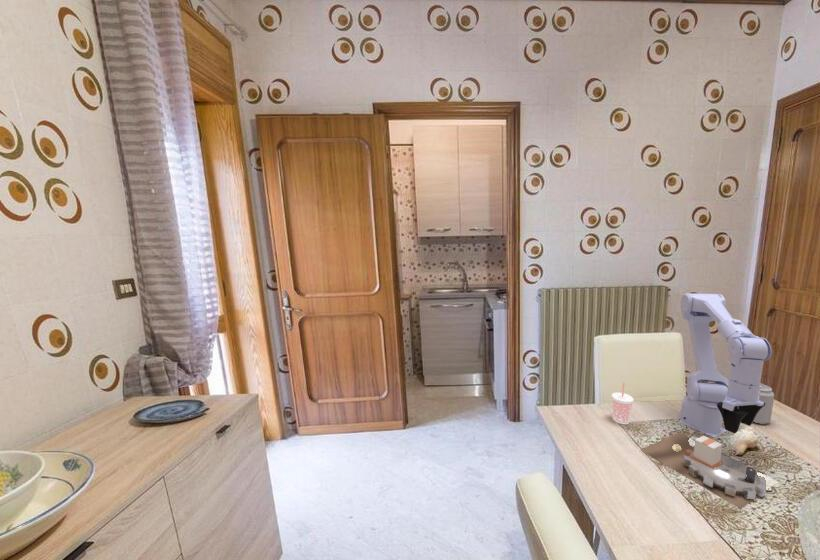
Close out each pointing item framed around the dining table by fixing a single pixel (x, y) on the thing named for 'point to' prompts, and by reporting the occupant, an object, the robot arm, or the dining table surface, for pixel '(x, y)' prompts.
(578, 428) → the dining table surface
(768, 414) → the can
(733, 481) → the sprocket
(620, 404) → the beverage cup
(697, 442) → the link block
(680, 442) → the board
